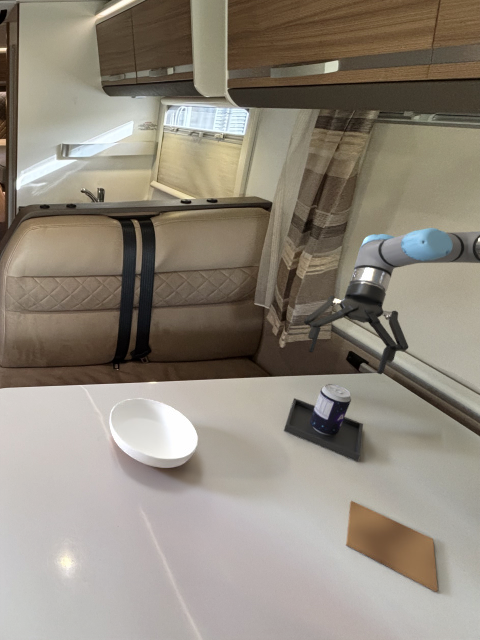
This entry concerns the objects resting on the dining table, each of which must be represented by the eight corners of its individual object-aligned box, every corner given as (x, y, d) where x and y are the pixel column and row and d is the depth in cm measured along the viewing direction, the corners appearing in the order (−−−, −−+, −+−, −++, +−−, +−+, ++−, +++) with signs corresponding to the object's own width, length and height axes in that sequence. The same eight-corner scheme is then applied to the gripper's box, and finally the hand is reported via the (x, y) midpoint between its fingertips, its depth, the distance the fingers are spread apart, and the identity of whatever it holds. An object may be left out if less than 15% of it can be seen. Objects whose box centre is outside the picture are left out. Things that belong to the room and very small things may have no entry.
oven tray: (360, 429, 107) (363, 423, 106) (357, 461, 98) (360, 455, 97) (292, 403, 116) (294, 397, 115) (283, 430, 107) (285, 424, 106)
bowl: (153, 409, 115) (157, 391, 112) (212, 466, 98) (218, 445, 95) (91, 427, 109) (93, 408, 107) (142, 490, 92) (146, 469, 90)
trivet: (431, 540, 81) (433, 538, 81) (436, 592, 73) (437, 590, 73) (350, 502, 89) (351, 500, 89) (346, 545, 81) (347, 543, 80)
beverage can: (334, 441, 103) (350, 401, 99) (306, 428, 107) (320, 389, 103) (339, 429, 107) (355, 390, 102) (311, 417, 111) (325, 379, 106)
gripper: (429, 309, 108) (408, 386, 103) (307, 281, 123) (284, 346, 119) (439, 297, 102) (417, 378, 98) (310, 270, 118) (286, 338, 113)
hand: (344, 361), depth 108 cm, fingers open, 13 cm apart
